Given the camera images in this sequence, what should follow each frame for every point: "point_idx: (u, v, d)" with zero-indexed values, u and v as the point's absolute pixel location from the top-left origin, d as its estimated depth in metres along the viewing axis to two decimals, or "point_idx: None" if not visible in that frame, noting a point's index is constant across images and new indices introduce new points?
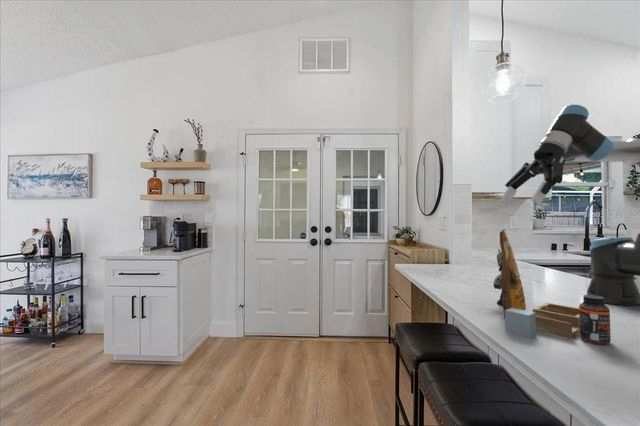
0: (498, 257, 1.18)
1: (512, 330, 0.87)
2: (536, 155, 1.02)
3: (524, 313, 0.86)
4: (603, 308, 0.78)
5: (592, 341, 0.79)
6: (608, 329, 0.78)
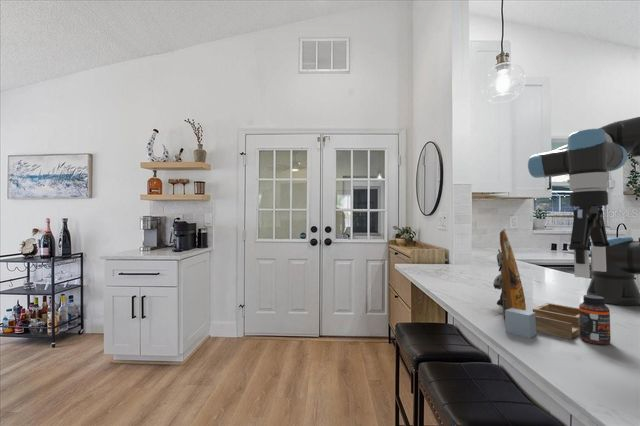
0: (498, 257, 1.18)
1: (512, 330, 0.87)
2: None
3: (524, 313, 0.86)
4: (603, 308, 0.78)
5: (592, 341, 0.79)
6: (608, 329, 0.78)
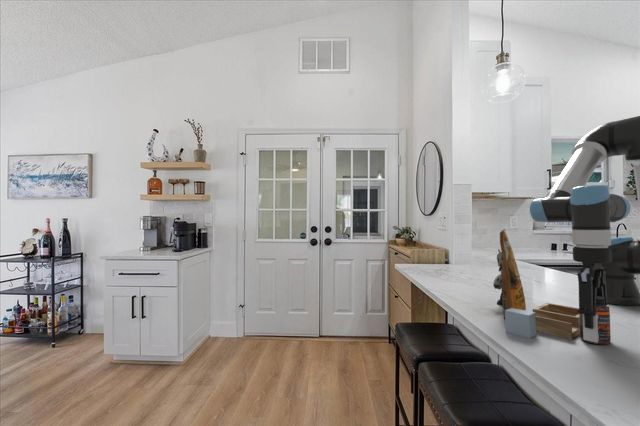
0: (498, 257, 1.18)
1: (512, 330, 0.87)
2: None
3: (524, 313, 0.86)
4: (603, 308, 0.78)
5: None
6: (608, 329, 0.78)
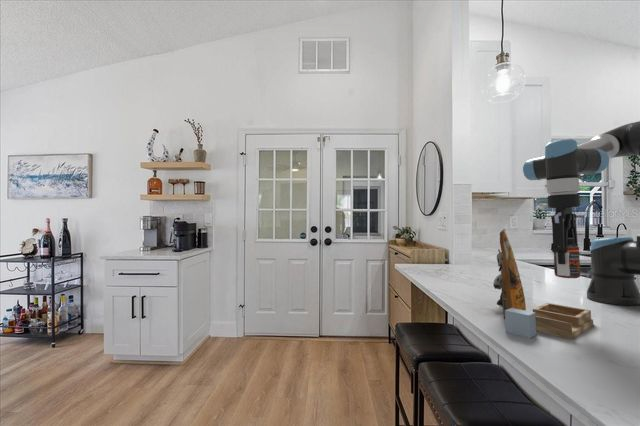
0: (498, 257, 1.18)
1: (512, 330, 0.87)
2: None
3: (524, 313, 0.86)
4: (573, 246, 0.90)
5: (564, 276, 0.90)
6: (578, 264, 0.90)
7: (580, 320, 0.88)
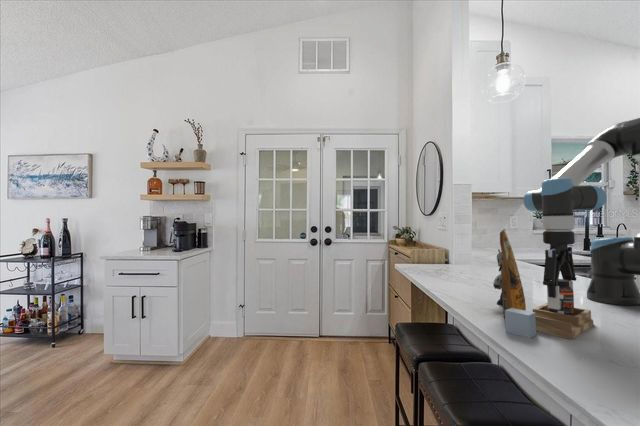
0: (498, 257, 1.18)
1: (512, 330, 0.87)
2: None
3: (524, 313, 0.86)
4: (567, 289, 0.92)
5: None
6: (572, 307, 0.92)
7: (580, 320, 0.88)
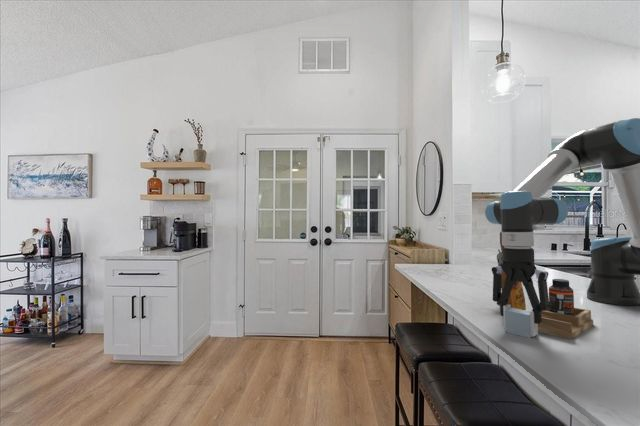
0: (498, 257, 1.18)
1: (512, 329, 0.87)
2: (508, 261, 0.88)
3: (524, 313, 0.86)
4: (567, 289, 0.92)
5: None
6: (572, 307, 0.92)
7: (580, 320, 0.88)
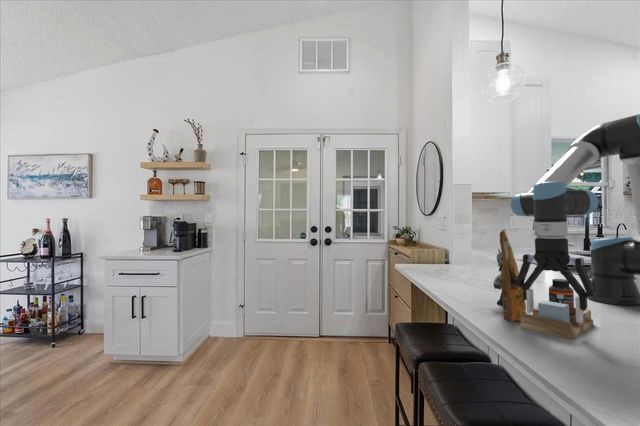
0: (498, 257, 1.18)
1: None
2: (541, 251, 0.89)
3: (558, 305, 0.87)
4: (567, 289, 0.92)
5: None
6: (572, 307, 0.92)
7: None
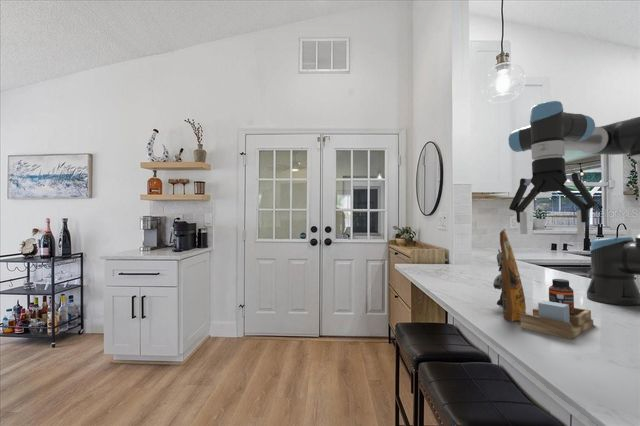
0: (498, 257, 1.18)
1: None
2: (538, 172, 0.89)
3: (558, 305, 0.87)
4: (567, 289, 0.92)
5: None
6: (572, 307, 0.92)
7: (580, 320, 0.88)
